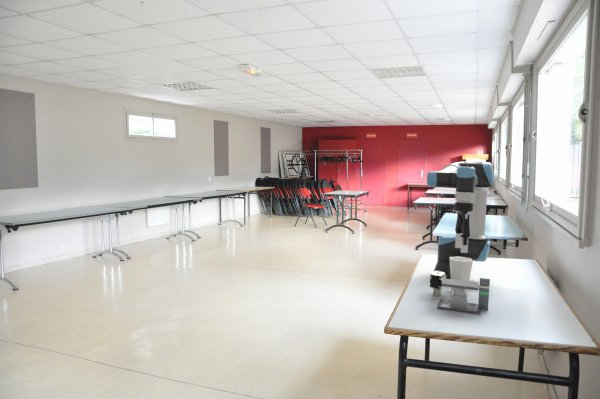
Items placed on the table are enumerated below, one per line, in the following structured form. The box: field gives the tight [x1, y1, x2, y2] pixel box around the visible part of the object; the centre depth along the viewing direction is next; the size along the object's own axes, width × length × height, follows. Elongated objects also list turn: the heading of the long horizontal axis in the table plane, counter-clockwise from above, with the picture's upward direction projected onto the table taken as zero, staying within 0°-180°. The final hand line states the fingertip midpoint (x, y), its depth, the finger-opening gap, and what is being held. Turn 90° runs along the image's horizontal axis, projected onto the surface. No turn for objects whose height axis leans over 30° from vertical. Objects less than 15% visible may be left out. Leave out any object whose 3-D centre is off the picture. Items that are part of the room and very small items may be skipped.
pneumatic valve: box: [429, 271, 446, 298], centre depth 205 cm, size 6×12×12 cm, turn 148°
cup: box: [449, 256, 474, 294], centre depth 210 cm, size 11×10×17 cm
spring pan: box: [441, 278, 490, 296], centre depth 188 cm, size 19×9×6 cm, turn 68°
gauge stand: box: [437, 277, 491, 315], centre depth 188 cm, size 20×11×14 cm, turn 68°
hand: (461, 250), depth 188 cm, fingers open, 13 cm apart
